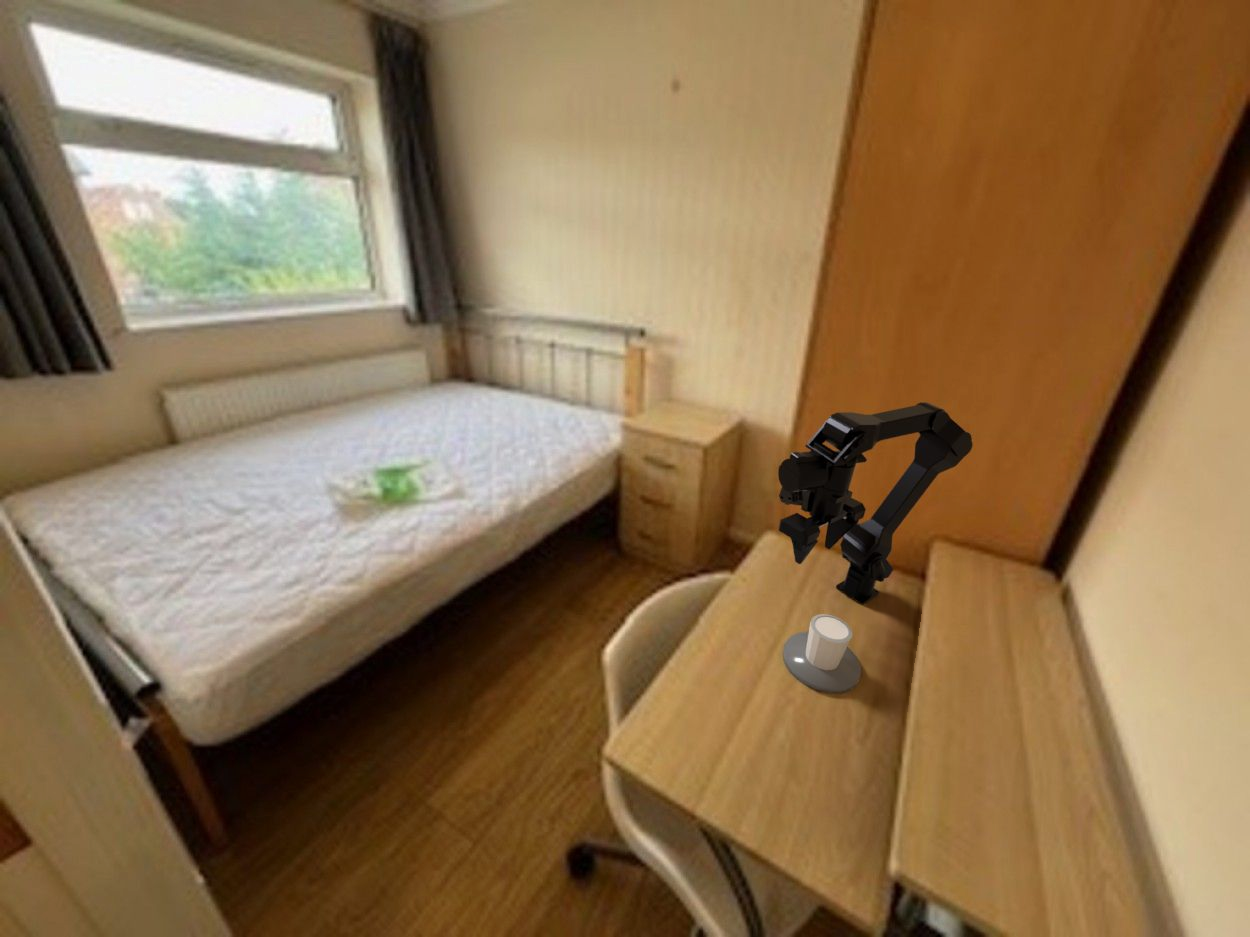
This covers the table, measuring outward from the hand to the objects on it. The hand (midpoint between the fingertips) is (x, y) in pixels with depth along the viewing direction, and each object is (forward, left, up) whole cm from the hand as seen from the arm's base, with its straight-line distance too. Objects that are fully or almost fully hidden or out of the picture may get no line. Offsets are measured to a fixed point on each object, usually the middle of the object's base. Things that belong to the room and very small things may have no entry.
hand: (813, 555), depth 105 cm
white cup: (+10, +12, -11) cm, 19 cm away
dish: (+10, +12, -12) cm, 20 cm away
